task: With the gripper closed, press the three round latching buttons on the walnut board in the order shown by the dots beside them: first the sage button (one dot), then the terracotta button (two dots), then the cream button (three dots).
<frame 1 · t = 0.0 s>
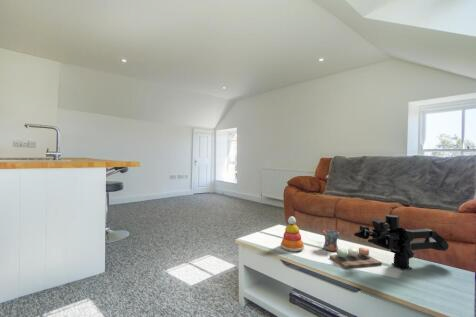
hand: (360, 237, 116), 17 cm above the table, tool horizontal, fingers open, 9 cm apart
button board: (354, 261, 127), on the table
mug: (331, 248, 145), on the table
cream button: (353, 252, 128), point 4 cm above the table, slide at 0.0 cm
stacking toy: (292, 248, 144), on the table
sage button: (342, 253, 126), point 4 cm above the table, slide at 0.0 cm
terracotta button: (363, 251, 130), point 4 cm above the table, slide at 0.0 cm
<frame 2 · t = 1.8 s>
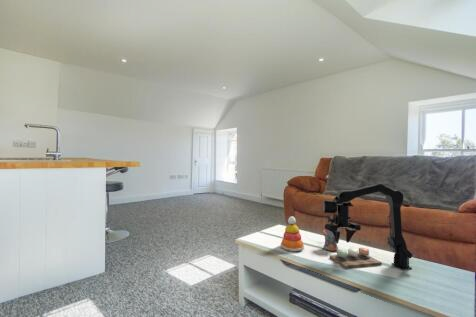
hand: (342, 242, 127), 10 cm above the table, tool pointing down, fingers open, 6 cm apart
nothing on the table moved.
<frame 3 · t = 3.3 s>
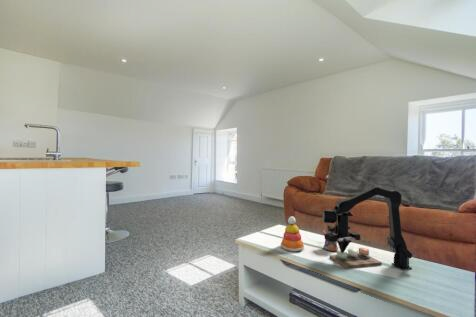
hand: (342, 252, 126), 5 cm above the table, tool pointing down, fingers closed, pressing on sage button
sage button: (342, 254, 126), point 4 cm above the table, slide at 0.8 cm, touching gripper
everything else where it was.
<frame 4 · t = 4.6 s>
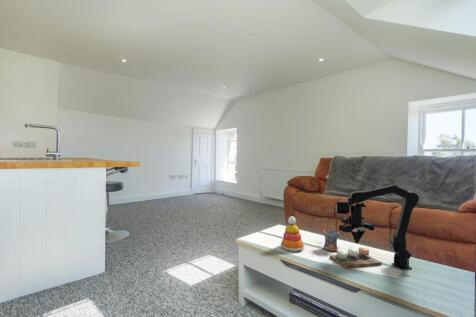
hand: (356, 243, 128), 9 cm above the table, tool pointing down, fingers closed
sage button: (342, 255, 126), point 3 cm above the table, slide at 1.1 cm
everything else where it was.
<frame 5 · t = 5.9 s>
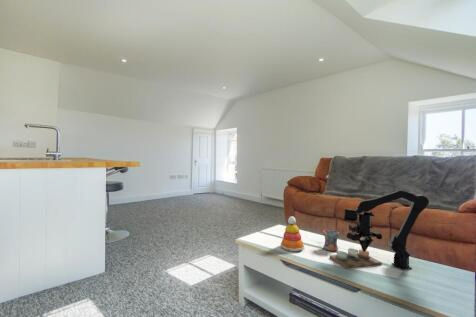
hand: (364, 251, 130), 5 cm above the table, tool pointing down, fingers closed, pressing on terracotta button
terracotta button: (363, 253, 130), point 3 cm above the table, slide at 1.1 cm, touching gripper
everything else where it was.
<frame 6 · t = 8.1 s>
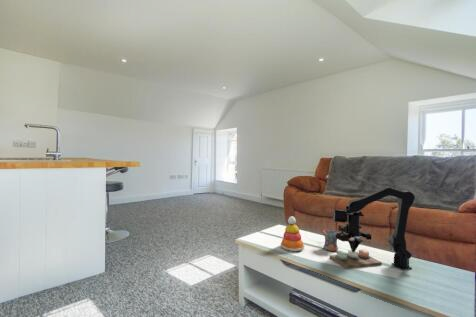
hand: (353, 251, 128), 5 cm above the table, tool pointing down, fingers closed, pressing on cream button
cream button: (353, 254, 128), point 3 cm above the table, slide at 0.9 cm, touching gripper
terracotta button: (363, 253, 130), point 3 cm above the table, slide at 1.1 cm
everything else where it was.
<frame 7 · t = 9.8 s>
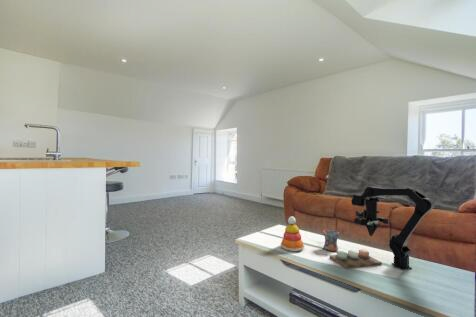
hand: (370, 235, 134), 12 cm above the table, tool pointing down, fingers closed
cream button: (353, 254, 128), point 3 cm above the table, slide at 1.1 cm
everything else where it was.
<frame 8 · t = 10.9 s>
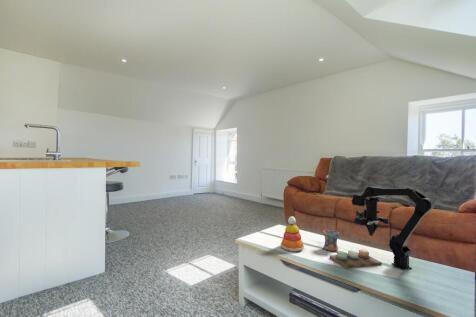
hand: (371, 235, 134), 12 cm above the table, tool pointing down, fingers closed
nothing on the table moved.
at the end: sage button slide at 1.1 cm; terracotta button slide at 1.1 cm; cream button slide at 1.1 cm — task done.
